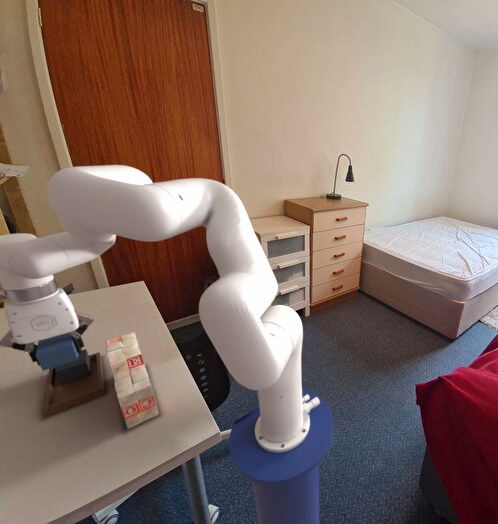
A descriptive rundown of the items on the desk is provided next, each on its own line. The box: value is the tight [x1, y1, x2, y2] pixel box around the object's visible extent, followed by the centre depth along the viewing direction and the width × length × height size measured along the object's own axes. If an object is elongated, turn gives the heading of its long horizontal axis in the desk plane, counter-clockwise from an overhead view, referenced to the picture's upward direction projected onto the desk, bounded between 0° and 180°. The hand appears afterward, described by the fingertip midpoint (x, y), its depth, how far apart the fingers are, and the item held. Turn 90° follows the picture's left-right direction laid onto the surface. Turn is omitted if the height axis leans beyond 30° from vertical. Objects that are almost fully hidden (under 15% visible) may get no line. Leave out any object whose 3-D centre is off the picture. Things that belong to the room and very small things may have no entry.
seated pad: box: [55, 348, 91, 386], centre depth 77 cm, size 6×7×4 cm
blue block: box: [36, 333, 78, 372], centre depth 67 cm, size 6×7×4 cm
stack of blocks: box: [105, 331, 159, 430], centre depth 70 cm, size 21×6×12 cm, turn 42°
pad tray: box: [43, 352, 106, 417], centre depth 75 cm, size 11×18×2 cm, turn 42°
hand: (60, 355), depth 68 cm, fingers closed on blue block, 6 cm apart
